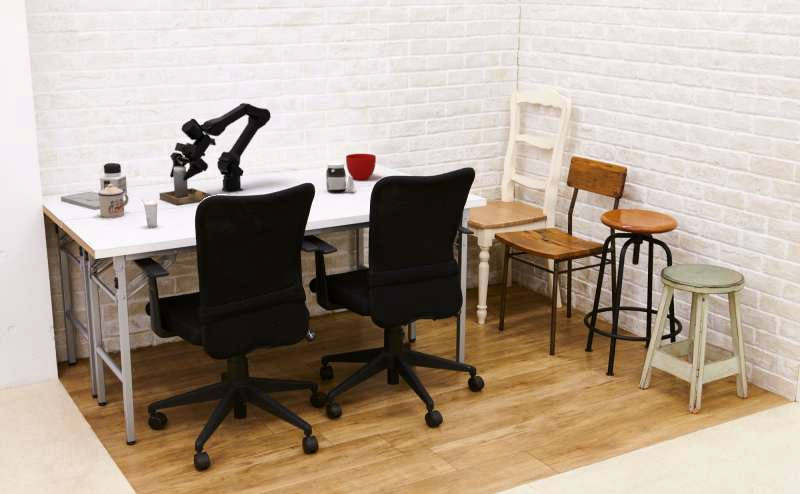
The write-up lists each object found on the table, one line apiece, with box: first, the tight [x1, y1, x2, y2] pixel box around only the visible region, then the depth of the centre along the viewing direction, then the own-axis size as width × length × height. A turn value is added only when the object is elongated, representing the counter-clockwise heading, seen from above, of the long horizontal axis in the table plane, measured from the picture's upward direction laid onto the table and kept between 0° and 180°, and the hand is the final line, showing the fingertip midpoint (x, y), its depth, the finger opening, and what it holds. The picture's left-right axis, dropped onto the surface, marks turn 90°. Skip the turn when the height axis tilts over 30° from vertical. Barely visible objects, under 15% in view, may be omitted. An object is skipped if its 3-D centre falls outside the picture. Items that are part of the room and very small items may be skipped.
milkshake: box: [141, 199, 158, 228], centre depth 369 cm, size 5×5×10 cm
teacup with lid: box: [97, 184, 130, 219], centre depth 386 cm, size 12×9×12 cm
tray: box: [158, 188, 211, 206], centre depth 411 cm, size 15×15×2 cm
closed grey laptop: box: [60, 190, 126, 211], centre depth 407 cm, size 24×2×14 cm
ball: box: [195, 190, 203, 196], centre depth 410 cm, size 3×3×3 cm
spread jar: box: [325, 161, 356, 194], centre depth 425 cm, size 12×11×12 cm
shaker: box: [173, 165, 189, 199], centre depth 410 cm, size 5×5×12 cm
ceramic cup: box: [345, 153, 377, 181], centre depth 452 cm, size 13×17×10 cm
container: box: [99, 162, 128, 195], centre depth 418 cm, size 8×8×13 cm
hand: (177, 178), depth 408 cm, fingers open, 9 cm apart
